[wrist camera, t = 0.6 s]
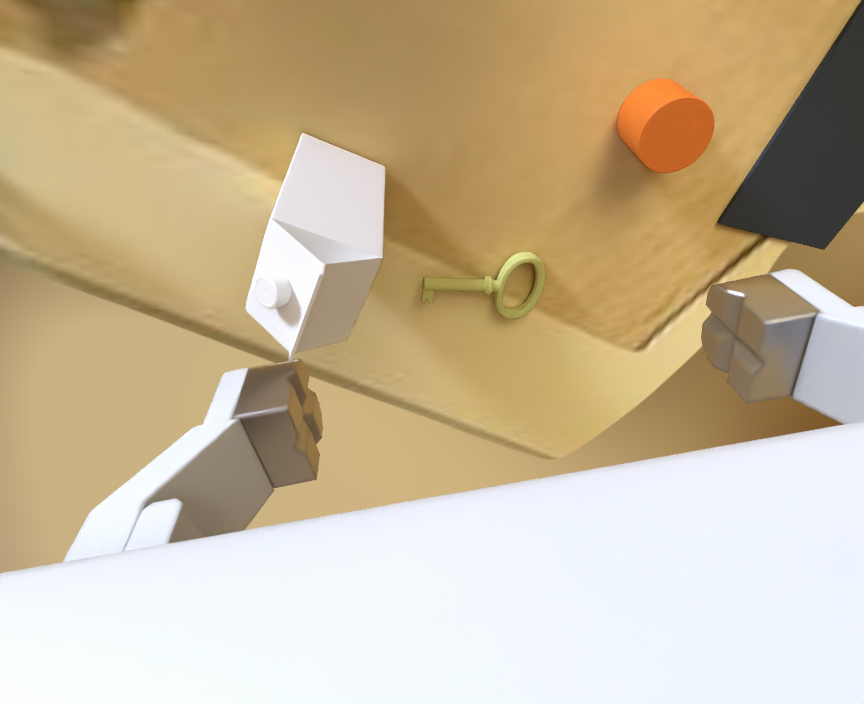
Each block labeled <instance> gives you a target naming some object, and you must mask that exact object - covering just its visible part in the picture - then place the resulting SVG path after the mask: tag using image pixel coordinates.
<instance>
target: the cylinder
mask: <svg viewBox="0 0 864 704" xmlns="http://www.w3.org/2000/svg"><path fill="white" fill-rule="evenodd" d="M617 127H618V133H619V135H620V138H621V139H622V141H623V142H624V143H625V144H626V145H627V146H628V147H629V148H630V150H631V151H632V152H633V153H634V154H635V155H636V156H637V157H638V158H639V159H640V160H641V161H642V162H643V164H644V165H645V166H646V167H648V168H649V169H651V170H653V171H655V172H660V173H670V172H675V171H678V170H681V169H683V168H685V167H687V166H688V165H690V164H691V163H693V162H694V161H695V160H696V159H698V158H699V156H700V155H701V154H702V153H703V152H704V151H705V149H706V148H707V146H708V144H709V142H710V140H711V138H712V135H713V131H714V116H713V113H712V111H711V109H710V107H709V106H708V105H707V104H706V103H705V102H704V101H702V100H701V99H699V98H698V97H696V96H695V95H693V94H692V93H690V92H689V91H687V90H686V89H684V88H683V87H681V86H680V85H678V84H677V83H675V82H674V81H671V80H668V79H655V80H651V81H648V82H646V83H644V84H642V85H640V86H639V87H637V88H636V89H635V90H634V91H633V92H632V93H631V94H630V95H629V96H628V97H627V98H626V100H625V101H624V103H623V105H622V107H621V109H620V112H619V115H618V121H617Z"/></svg>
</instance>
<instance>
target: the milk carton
mask: <svg viewBox="0 0 864 704" xmlns="http://www.w3.org/2000/svg"><path fill="white" fill-rule="evenodd" d="M384 203H385V166H383V165H380V164H378V163H375V162H373V161H370V160H368V159H366V158H363V157H361V156H358V155H356V154H353V153H351V152H348V151H346V150H344V149H341V148H339V147H336V146H334V145H331V144H329V143H327V142H324V141H322V140H319V139H317V138H314V137H312V136H309V135H307V134H305V133H302V135H301V138H300V140H299V143H298V146H297V148H296V151H295V154H294V156H293V159H292V161H291V164H290V167H289V169H288V172H287V175H286V177H285V180H284V182H283V185H282V188H281V190H280V193H279V196H278V198H277V201H276V204H275V206H274V209H273V211H272V214H271V217H270V220H269V223H268V226H267V229H266V233H265V236H264V240H263V244H262V247H261V251H260V254H259V258H258V262H257V265H256V269H255V272H254V276H253V280H252V283H251V287H250V291H249V294H248V298H247V303H246V311H247V312H248V313H249V314H250V315H251V316H252V317H253V318H254V319H255V320H256V321H257V322H258V323H260V324H261V325H262V326H263V327H264V328H265V329H266V330H267V331H268V332H269V333H270V334H271V335H272V336H273V337H274V338H275V339H276V340H277V341H278V342H279V343H280V344H281V345H282V346H283V347H284V348H285V349H286V350H287V351H288V352H289V353H290V355H289V359H288V361H292V359H293V357H294V354H295V353H297V352H301V351H305V350H309V349H313V348H317V347H321V346H325V345H329V344H333V343H336V342H340V341H344V340H347V339H348V337H349V335H350V333H351V331H352V328H353V326H354V324H355V322H356V319H357V317H358V315H359V313H360V310H361V308H362V306H363V303H364V301H365V299H366V297H367V294H368V292H369V290H370V288H371V285H372V283H373V281H374V279H375V276H376V274H377V272H378V270H379V267H380V265H381V263H382V260H383V238H384Z"/></svg>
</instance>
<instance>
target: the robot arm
mask: <svg viewBox="0 0 864 704" xmlns="http://www.w3.org/2000/svg"><path fill="white" fill-rule="evenodd" d="M706 305H707V307H708V308H709V309H710V311H711V312H712V313H711V314H710V316H709V317H708V318H707V319H706V320H705V322H704V323H703V326H702V335H701V340H702V345H703V350H704V352H705V354H706V357H707V359H708V360H709V362H710V363H711V364H712V365H713V366H714V367H715V368H717V369H719V370H722V371H724V372H727V373H729V374H728V379H727V382H728V383H729V384H730V386H732V388H733V389H734V390H735V391H736V392H737V393H738V394H739V395H740V397H741V398H742V399H743V400H744V401H745V402H746V403H751V402H758V401H764V400H771V399H778V398H784V397H791V396H792V399H794V400H796V401H798V402H800V403H802V404H804V405H806V406H808V407H810V408H812V409H814V410H816V411H818V412H820V413H822V414H824V415H826V416H828V417H830V418H832V419H835V420H836V421H838V422H840V423H842V424H844V425H839V426H834V427H828V428H822V429H817V430H811V431H806V432H800V433H794V434H788V435H783V436H777V437H771V438H766V439H760V440H754V441H749V442H743V443H737V444H732V445H726V446H720V447H715V448H709V449H703V450H698V451H692V452H686V453H681V454H675V455H669V456H664V457H658V458H652V459H647V460H642V461H635V462H630V463H624V464H618V465H613V466H607V467H602V468H596V469H590V470H584V471H579V472H573V473H567V474H562V475H556V476H551V477H544V478H539V479H534V480H527V481H522V482H516V483H511V484H505V485H499V486H493V487H489V488H482V489H477V490H471V491H465V492H460V493H454V494H448V495H442V496H437V497H431V498H425V499H420V500H414V501H408V502H403V503H397V504H391V505H386V506H380V507H374V508H368V509H363V510H357V511H351V512H346V513H340V514H335V515H329V516H323V517H317V518H312V519H306V520H300V521H294V522H289V523H283V524H277V525H272V526H266V527H260V528H255V529H249V530H245V529H246V527H247V526H248V525H249V523H250V522H251V521H252V519H253V518H254V517H255V515H256V514H257V513H258V511H259V510H260V509H261V507H262V506H263V505H264V503H265V502H266V501H267V499H268V498H269V497H270V495H271V494H272V493H273V491H274V489H273V488H278V487H283V486H287V485H292V484H297V483H302V482H307V481H312V480H316V479H317V472H318V464H319V456H320V454H319V451H318V448H317V446H316V444H317V443H318V441H319V440H320V439H321V438H322V429H323V427H322V414H321V410H320V405H319V402H318V399H317V396H316V394H315V393H314V392H313V391H311V390H310V389H308V381H309V374H308V372H307V369H306V367H305V364H304V363H303V362H302V361H301V360H300V359H299V360H293V361H287V362H280V363H274V364H268V365H262V366H256V367H252V368H243V369H238V370H233V371H228V372H226V373H224V374H223V375H222V378H221V380H220V382H219V385H218V387H217V390H216V393H215V395H214V397H213V400H212V402H211V405H210V408H209V410H208V413H207V415H206V418H205V420H204V423H203V425H199V426H195V427H193V428H192V429H191V430H190V431H189V432H187V433H186V434H185V435H184V436H182V437H181V438H180V439H179V440H178V441H176V442H175V443H174V444H173V445H172V446H170V447H169V448H168V449H167V450H165V451H164V452H163V453H162V454H160V455H159V456H158V457H157V458H155V459H154V460H153V461H152V462H151V463H149V464H148V465H147V466H146V467H144V468H143V469H142V470H141V471H140V472H138V473H137V474H136V475H135V476H133V477H132V478H131V479H130V480H129V481H127V482H126V483H125V484H124V485H122V486H121V487H120V488H119V489H118V490H116V491H115V492H114V493H113V494H111V495H110V496H109V497H108V498H106V499H105V500H104V501H103V502H102V503H100V504H99V505H98V506H97V507H95V508H94V509H93V510H92V511H91V512H90V513H89V515H88V517H87V519H86V520H85V523H84V524H83V526H82V528H81V530H80V532H79V534H78V535H77V537H76V539H75V541H74V543H73V544H72V546H71V548H70V550H69V552H68V554H67V555H66V557H65V559H64V561H63V562H62V563H56V564H51V565H44V566H39V567H33V568H28V569H22V570H16V571H10V572H5V573H0V704H864V306H860V307H853V306H851V305H850V304H848V303H847V302H845V301H844V300H842V299H841V298H839V297H837V296H836V295H835V294H833V293H832V292H830V291H829V290H827V289H826V288H824V287H823V286H821V285H820V284H818V283H817V282H815V281H814V280H812V279H811V278H809V277H808V276H806V275H805V274H803V273H802V272H800V271H799V270H794V269H787V270H782V271H778V272H773V273H768V274H764V275H760V276H755V277H750V278H745V279H741V280H736V281H731V282H726V283H721V284H716V285H712V286H711V288H710V290H709V292H708V294H707V300H706Z"/></svg>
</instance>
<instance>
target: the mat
mask: <svg viewBox="0 0 864 704" xmlns="http://www.w3.org/2000/svg"><path fill="white" fill-rule="evenodd" d="M863 202H864V0H862V1H861V3H860V5H859V6H858V8H857V9H856V11H855V12H854V14H853V15H852V17H851V18H850V20H849V21H848V23H847V24H846V26H845V27H844V29H843V31H842V32H841V34H840V35H839V37H838V38H837V40H836V41H835V43H834V44H833V46H832V47H831V49H830V50H829V52H828V53H827V55H826V56H825V58H824V60H823V61H822V63H821V64H820V66H819V67H818V69H817V70H816V72H815V73H814V75H813V76H812V78H811V79H810V81H809V82H808V84H807V86H806V87H805V89H804V90H803V92H802V93H801V95H800V96H799V98H798V99H797V101H796V102H795V104H794V105H793V107H792V108H791V110H790V111H789V113H788V115H787V116H786V118H785V119H784V121H783V122H782V124H781V125H780V127H779V128H778V130H777V131H776V133H775V134H774V136H773V137H772V139H771V141H770V142H769V144H768V145H767V147H766V148H765V150H764V151H763V153H762V154H761V156H760V157H759V159H758V160H757V162H756V163H755V165H754V166H753V168H752V170H751V171H750V173H749V174H748V176H747V177H746V179H745V180H744V182H743V183H742V185H741V186H740V188H739V189H738V191H737V192H736V194H735V196H734V197H733V199H732V200H731V202H730V203H729V205H728V206H727V208H726V209H725V211H724V212H723V214H722V215H721V217H720V218H719V220H718V223H719V224H722V225H726V226H730V227H734V228H738V229H742V230H747V231H751V232H755V233H759V234H763V235H767V236H771V237H775V238H779V239H783V240H787V241H791V242H795V243H799V244H803V245H807V246H811V247H815V248H819V249H825V248H826V247H827V246H828V244H829V243H830V242H831V241H832V240H833V238H834V237H835V236H836V235H837V233H838V232H839V231H840V230H841V229H842V227H843V226H844V225H845V224H846V223H847V221H848V220H849V219H850V218H851V216H852V215H853V214H854V213H855V212H856V210H857V209H858V208H859V207H860V205H861V204H862V203H863Z"/></svg>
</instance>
